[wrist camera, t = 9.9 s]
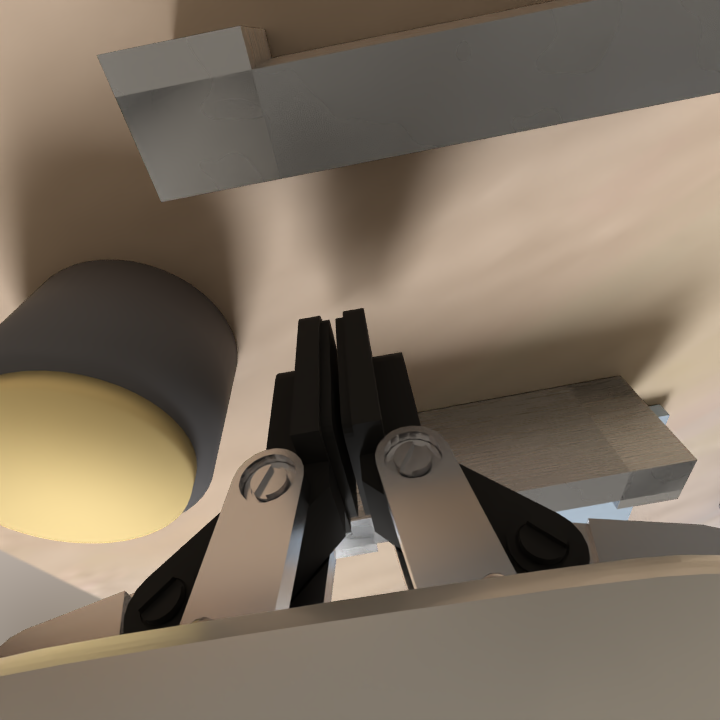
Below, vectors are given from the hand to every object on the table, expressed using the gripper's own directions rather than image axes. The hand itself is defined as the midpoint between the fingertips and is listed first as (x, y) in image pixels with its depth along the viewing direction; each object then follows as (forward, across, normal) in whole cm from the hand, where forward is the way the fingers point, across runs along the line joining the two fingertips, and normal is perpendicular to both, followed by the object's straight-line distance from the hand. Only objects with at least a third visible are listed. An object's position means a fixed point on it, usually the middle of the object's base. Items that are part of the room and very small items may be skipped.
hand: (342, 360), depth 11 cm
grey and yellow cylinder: (+2, +6, 0) cm, 7 cm away
